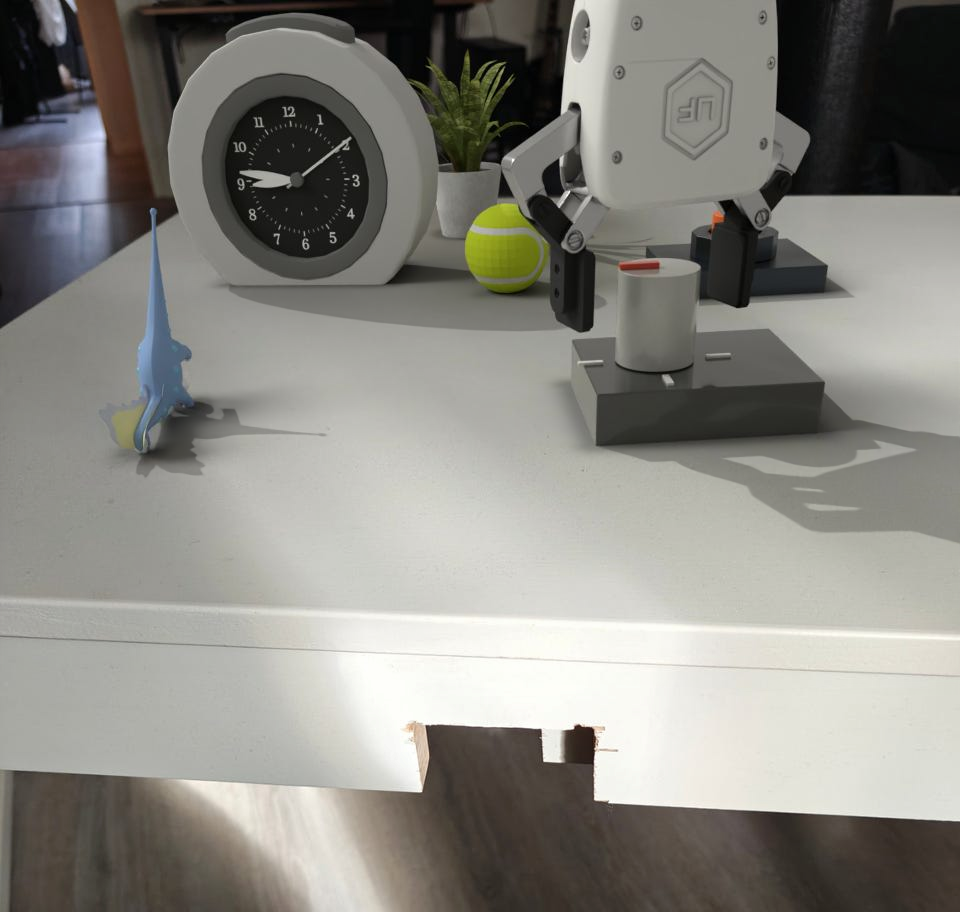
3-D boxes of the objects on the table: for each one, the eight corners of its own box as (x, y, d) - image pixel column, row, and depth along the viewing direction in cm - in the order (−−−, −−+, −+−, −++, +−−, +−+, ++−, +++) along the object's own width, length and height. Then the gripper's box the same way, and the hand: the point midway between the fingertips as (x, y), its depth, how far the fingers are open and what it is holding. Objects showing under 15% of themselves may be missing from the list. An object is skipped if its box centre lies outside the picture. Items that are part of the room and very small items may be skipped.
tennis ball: (485, 307, 79) (482, 215, 76) (454, 288, 85) (450, 201, 81) (562, 295, 81) (563, 205, 78) (528, 278, 87) (527, 193, 83)
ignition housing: (784, 265, 87) (790, 215, 85) (824, 294, 78) (831, 240, 76) (644, 272, 87) (647, 222, 84) (669, 303, 78) (673, 248, 76)
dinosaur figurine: (158, 475, 63) (99, 447, 54) (148, 233, 63) (88, 162, 53) (205, 473, 63) (154, 445, 54) (195, 231, 63) (143, 159, 53)
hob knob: (684, 346, 59) (691, 250, 56) (702, 370, 55) (711, 268, 52) (608, 350, 59) (611, 254, 56) (622, 374, 55) (625, 273, 52)
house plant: (441, 215, 112) (431, 43, 103) (558, 221, 106) (558, 40, 98) (374, 242, 101) (357, 53, 92) (500, 250, 96) (495, 50, 87)
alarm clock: (189, 287, 88) (138, 20, 78) (219, 267, 95) (176, 17, 84) (430, 286, 85) (412, 8, 75) (444, 265, 92) (430, 6, 81)
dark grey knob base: (763, 376, 63) (769, 325, 61) (817, 436, 55) (826, 378, 53) (566, 387, 63) (566, 336, 61) (590, 449, 54) (591, 391, 53)
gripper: (541, -71, 41) (539, 355, 50) (884, -75, 46) (826, 309, 55) (469, -61, 47) (479, 319, 56) (781, -65, 52) (743, 280, 61)
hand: (652, 314), depth 56 cm, fingers open, 9 cm apart
